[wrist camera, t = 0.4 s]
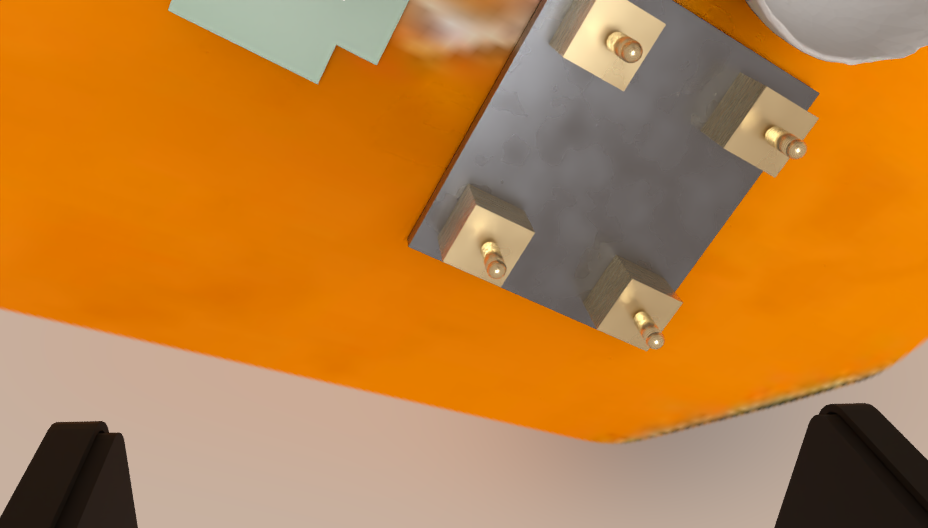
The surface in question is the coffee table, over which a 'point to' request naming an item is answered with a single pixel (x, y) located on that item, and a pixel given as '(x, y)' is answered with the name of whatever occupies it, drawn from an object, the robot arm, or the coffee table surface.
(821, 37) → the teacup
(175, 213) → the coffee table surface
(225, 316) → the coffee table surface
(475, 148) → the chassis
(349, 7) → the circuit board
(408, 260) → the coffee table surface
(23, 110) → the coffee table surface
